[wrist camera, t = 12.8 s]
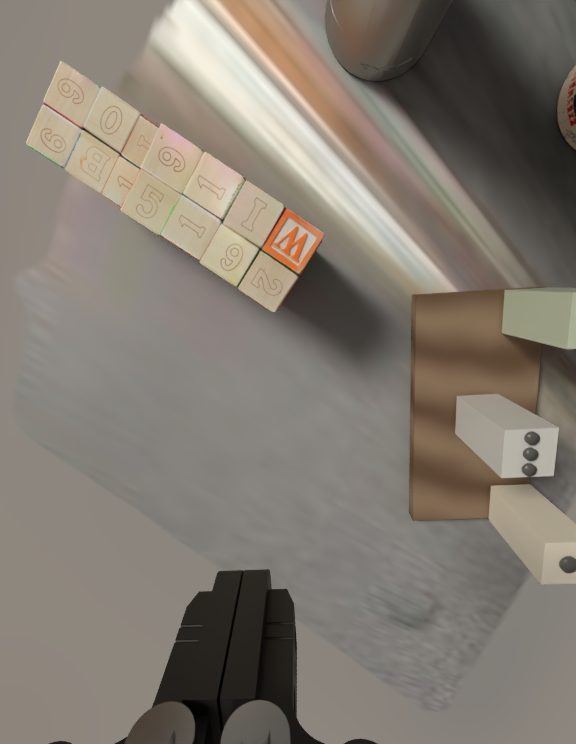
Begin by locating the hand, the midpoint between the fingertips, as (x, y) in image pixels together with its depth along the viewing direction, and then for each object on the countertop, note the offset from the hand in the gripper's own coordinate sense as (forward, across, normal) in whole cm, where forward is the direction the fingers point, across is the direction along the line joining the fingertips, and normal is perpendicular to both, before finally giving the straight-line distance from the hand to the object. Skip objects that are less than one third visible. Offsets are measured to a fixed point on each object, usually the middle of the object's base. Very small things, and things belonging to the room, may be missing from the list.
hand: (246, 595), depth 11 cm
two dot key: (+27, -23, -5) cm, 36 cm away
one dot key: (+27, -23, +15) cm, 39 cm away
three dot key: (+27, -19, +5) cm, 34 cm away
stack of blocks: (+29, +6, -16) cm, 34 cm away
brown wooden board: (+29, -19, +5) cm, 35 cm away
